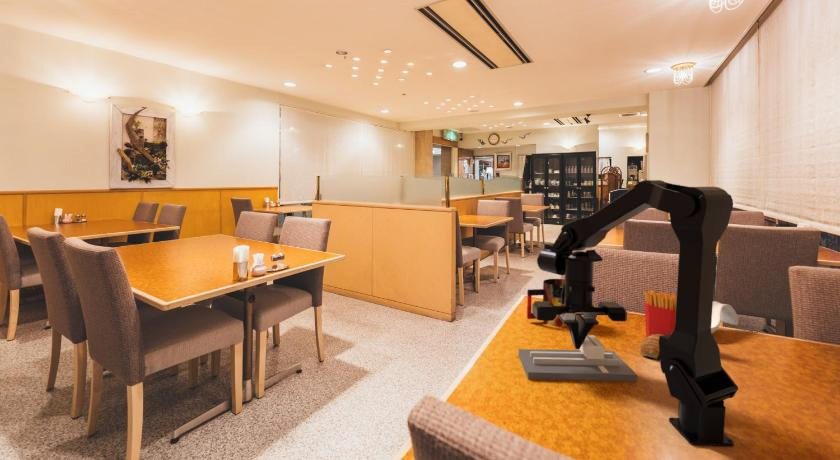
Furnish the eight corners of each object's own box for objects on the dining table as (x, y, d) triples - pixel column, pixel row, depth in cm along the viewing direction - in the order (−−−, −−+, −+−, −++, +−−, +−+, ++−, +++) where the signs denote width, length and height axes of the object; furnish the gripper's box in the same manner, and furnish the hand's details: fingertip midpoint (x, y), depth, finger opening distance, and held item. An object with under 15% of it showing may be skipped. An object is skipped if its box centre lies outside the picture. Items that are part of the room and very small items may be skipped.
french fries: (684, 345, 98) (687, 295, 96) (676, 349, 95) (678, 297, 94) (646, 334, 105) (649, 287, 104) (638, 337, 103) (640, 290, 102)
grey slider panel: (636, 381, 80) (637, 369, 80) (528, 379, 82) (528, 366, 81) (612, 356, 92) (613, 345, 92) (518, 355, 94) (518, 344, 93)
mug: (525, 322, 117) (526, 283, 116) (557, 314, 124) (558, 277, 123) (550, 331, 109) (551, 289, 107) (583, 323, 115) (584, 283, 114)
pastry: (665, 364, 88) (665, 348, 88) (632, 355, 93) (633, 340, 93) (676, 352, 95) (676, 336, 94) (645, 344, 99) (645, 330, 99)
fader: (603, 366, 83) (604, 345, 83) (587, 366, 83) (587, 345, 83) (593, 354, 89) (594, 335, 89) (577, 354, 89) (578, 334, 89)
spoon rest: (701, 345, 98) (703, 317, 98) (656, 330, 109) (657, 305, 108) (752, 329, 109) (754, 304, 108) (706, 317, 119) (707, 294, 118)
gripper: (607, 271, 92) (605, 335, 93) (527, 271, 93) (527, 334, 95) (629, 282, 81) (626, 355, 82) (538, 282, 82) (537, 353, 84)
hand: (576, 348), depth 86 cm, fingers closed
